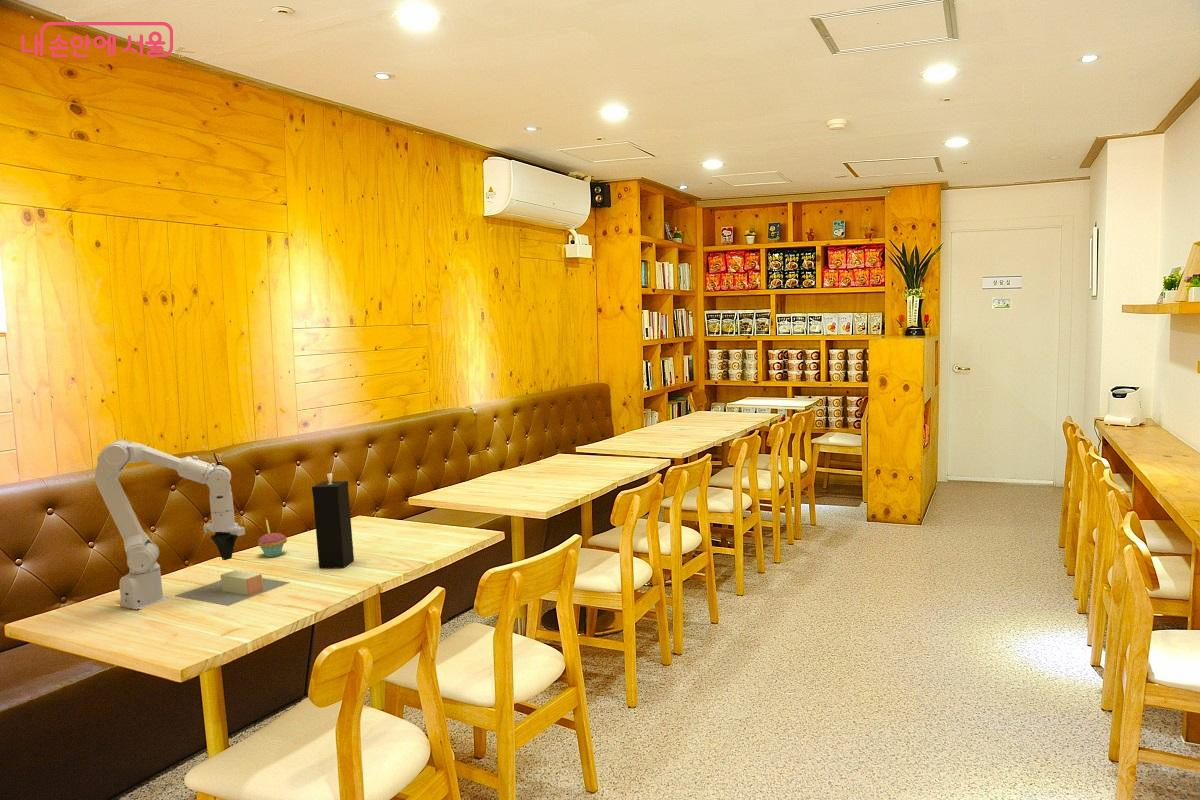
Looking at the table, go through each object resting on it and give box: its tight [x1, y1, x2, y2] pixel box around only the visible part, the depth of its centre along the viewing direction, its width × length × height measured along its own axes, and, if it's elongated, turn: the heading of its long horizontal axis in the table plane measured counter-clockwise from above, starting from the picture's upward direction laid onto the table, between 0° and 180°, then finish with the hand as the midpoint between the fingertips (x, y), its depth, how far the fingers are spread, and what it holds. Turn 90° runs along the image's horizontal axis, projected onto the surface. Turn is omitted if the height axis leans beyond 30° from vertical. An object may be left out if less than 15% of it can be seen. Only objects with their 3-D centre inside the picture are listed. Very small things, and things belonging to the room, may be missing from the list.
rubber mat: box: [175, 577, 291, 607], centre depth 228 cm, size 20×22×1 cm
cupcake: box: [257, 518, 288, 558], centre depth 263 cm, size 9×8×12 cm
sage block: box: [220, 569, 263, 595], centre depth 226 cm, size 4×4×11 cm
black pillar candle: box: [311, 472, 355, 569], centre depth 247 cm, size 8×8×28 cm
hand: (227, 559), depth 228 cm, fingers closed
